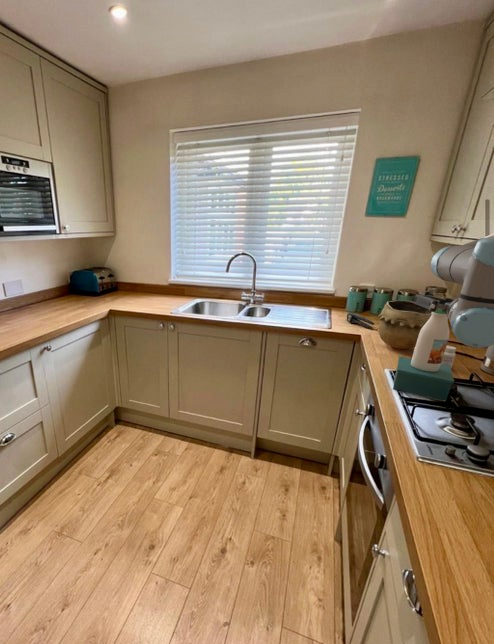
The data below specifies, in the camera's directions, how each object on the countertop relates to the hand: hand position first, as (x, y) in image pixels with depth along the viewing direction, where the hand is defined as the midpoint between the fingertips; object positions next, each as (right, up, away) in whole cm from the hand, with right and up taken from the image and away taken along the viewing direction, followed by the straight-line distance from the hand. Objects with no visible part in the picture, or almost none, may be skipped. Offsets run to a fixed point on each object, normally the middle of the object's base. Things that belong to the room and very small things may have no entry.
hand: (460, 298), depth 88 cm
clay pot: (+22, -13, +59) cm, 64 cm away
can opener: (+23, 0, +94) cm, 97 cm away
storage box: (+5, -26, +22) cm, 34 cm away
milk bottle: (+5, -19, +20) cm, 28 cm away
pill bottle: (+26, -20, +38) cm, 51 cm away
